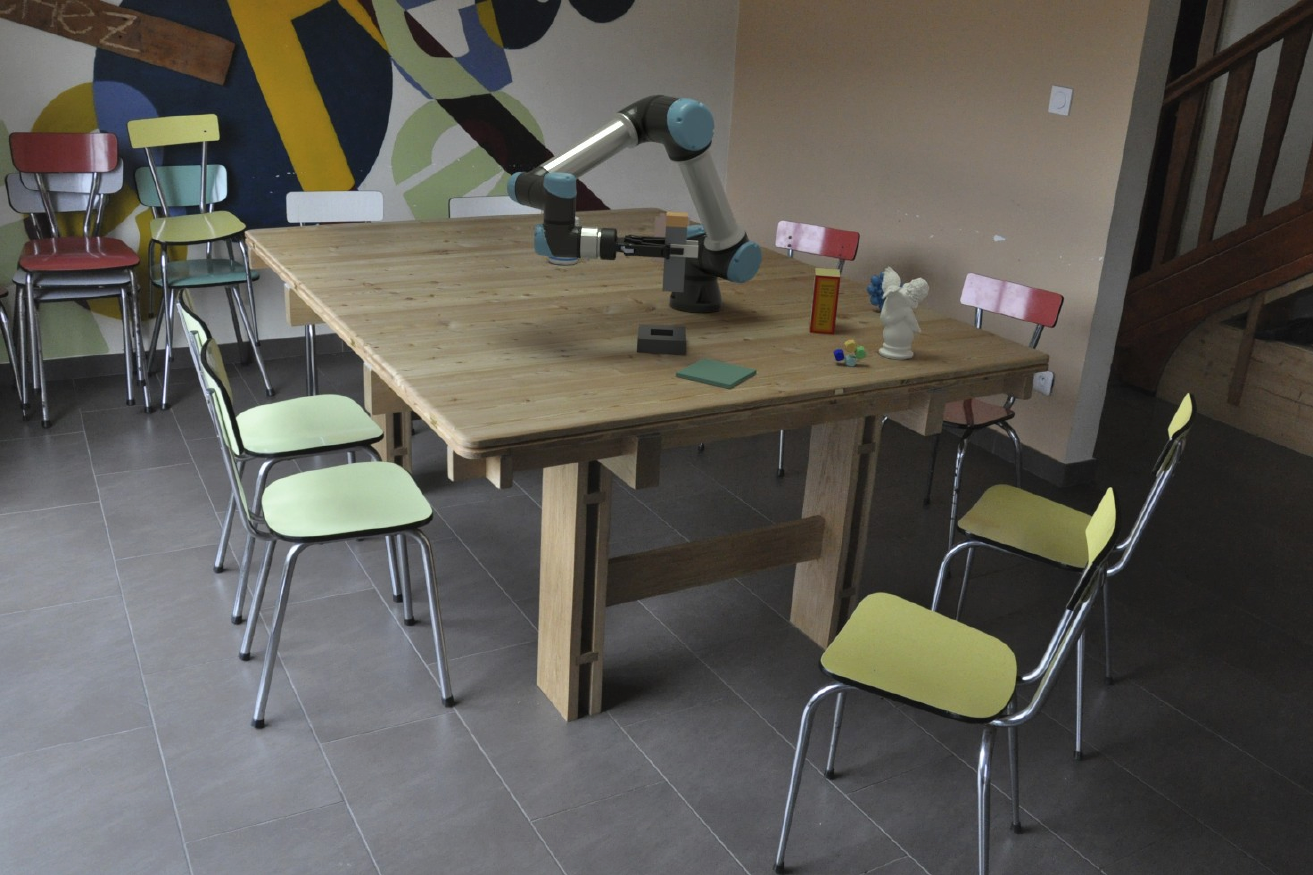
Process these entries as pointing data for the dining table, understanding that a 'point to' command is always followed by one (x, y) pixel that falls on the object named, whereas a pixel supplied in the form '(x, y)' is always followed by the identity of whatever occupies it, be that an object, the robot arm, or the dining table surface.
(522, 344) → the dining table surface
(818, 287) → the baking soda box
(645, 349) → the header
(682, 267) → the plug
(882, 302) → the grapes
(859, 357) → the dice
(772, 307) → the dining table surface
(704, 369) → the mat
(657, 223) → the greeting card
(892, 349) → the cherub figurine
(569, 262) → the supplement tub
